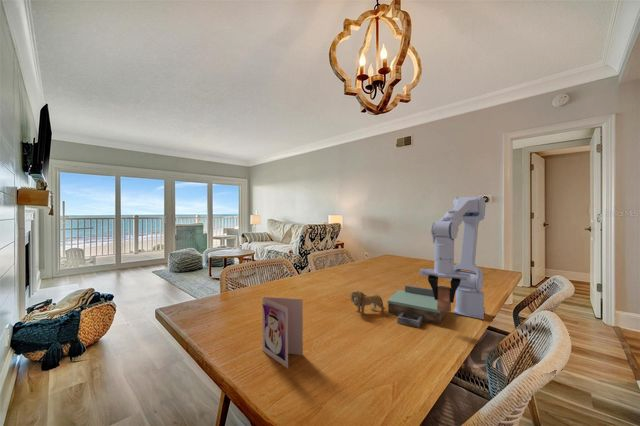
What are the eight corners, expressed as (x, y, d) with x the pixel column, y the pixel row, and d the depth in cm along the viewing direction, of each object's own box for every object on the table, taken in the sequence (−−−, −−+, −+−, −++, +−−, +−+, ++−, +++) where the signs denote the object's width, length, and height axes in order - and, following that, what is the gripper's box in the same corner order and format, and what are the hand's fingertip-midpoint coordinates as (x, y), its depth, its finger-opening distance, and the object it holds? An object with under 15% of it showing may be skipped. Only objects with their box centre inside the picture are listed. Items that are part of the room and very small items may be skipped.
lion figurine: (354, 317, 94) (354, 293, 94) (347, 312, 99) (347, 288, 99) (388, 312, 99) (388, 288, 99) (380, 307, 104) (380, 285, 104)
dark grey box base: (445, 310, 100) (445, 300, 100) (437, 332, 83) (437, 319, 82) (398, 301, 110) (398, 292, 110) (382, 319, 92) (382, 308, 92)
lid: (445, 300, 100) (445, 291, 100) (439, 313, 87) (439, 302, 87) (398, 292, 110) (398, 283, 110) (387, 302, 97) (387, 293, 97)
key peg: (451, 308, 84) (451, 287, 84) (450, 312, 80) (450, 290, 80) (438, 306, 86) (438, 285, 86) (436, 310, 83) (436, 288, 82)
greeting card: (260, 351, 71) (259, 297, 71) (282, 342, 76) (281, 291, 76) (285, 370, 63) (284, 308, 63) (307, 357, 68) (307, 301, 68)
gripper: (417, 257, 84) (417, 299, 84) (469, 262, 76) (469, 309, 76) (422, 254, 90) (422, 293, 90) (470, 258, 82) (470, 301, 82)
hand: (444, 300), depth 83 cm, fingers closed on key peg, 4 cm apart
